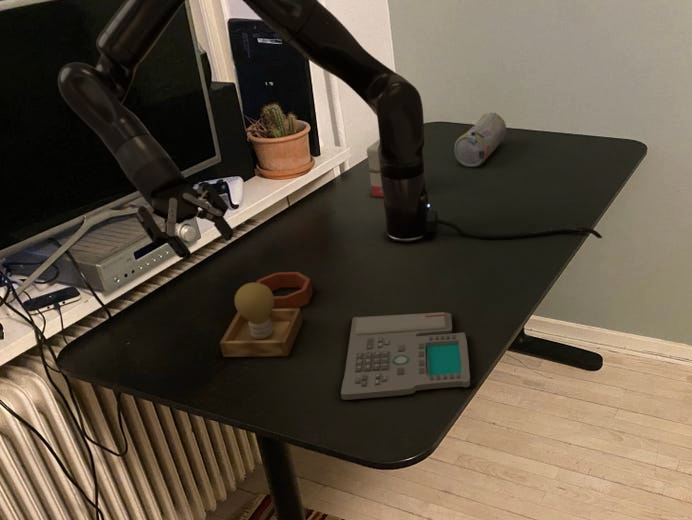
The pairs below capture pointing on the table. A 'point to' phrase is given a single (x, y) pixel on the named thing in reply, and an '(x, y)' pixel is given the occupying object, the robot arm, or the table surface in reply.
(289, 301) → the orange octagonal ring
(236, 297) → the light bulb
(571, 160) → the table surface
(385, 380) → the office telephone
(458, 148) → the pencil case
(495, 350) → the table surface
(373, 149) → the ink box
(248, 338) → the tray
